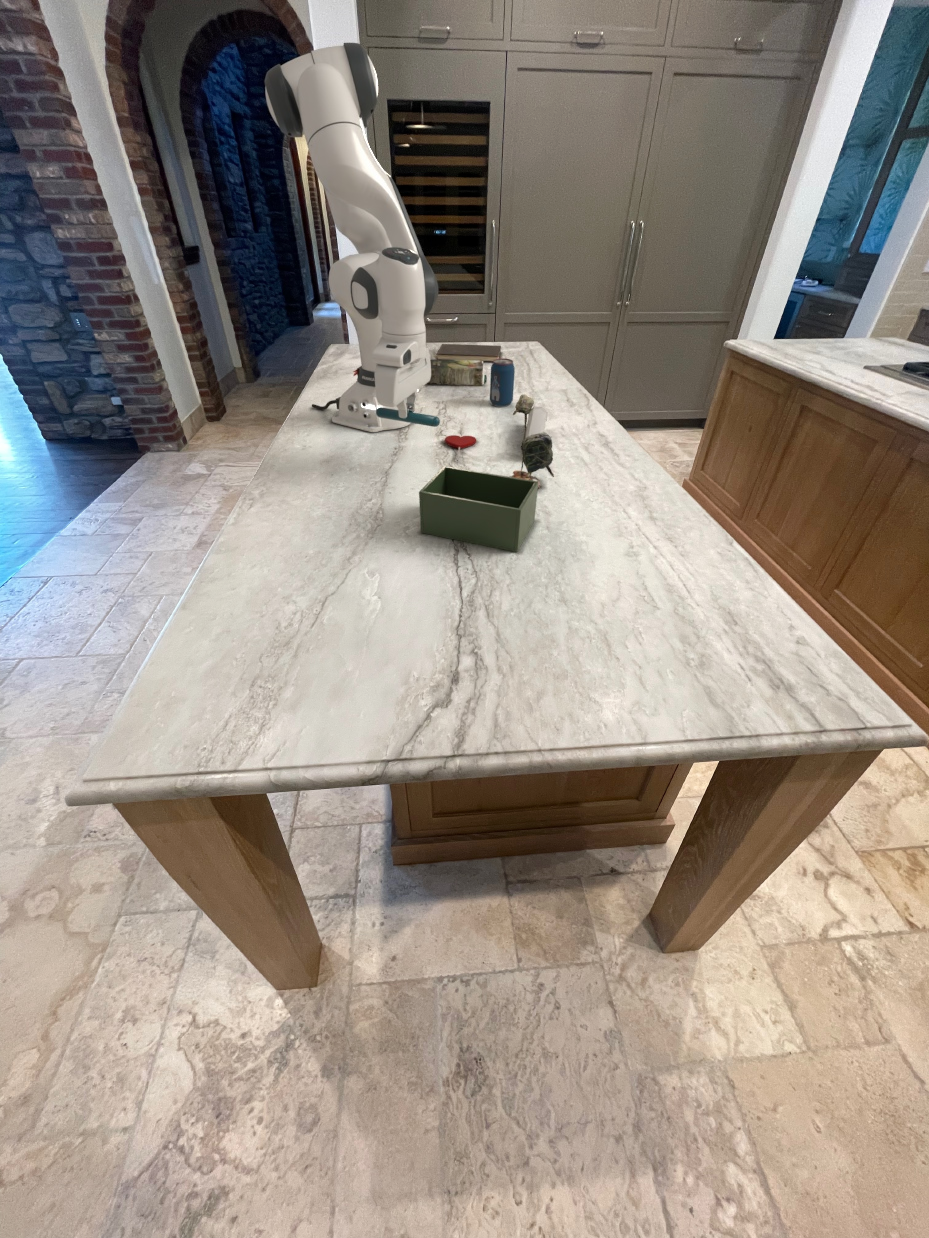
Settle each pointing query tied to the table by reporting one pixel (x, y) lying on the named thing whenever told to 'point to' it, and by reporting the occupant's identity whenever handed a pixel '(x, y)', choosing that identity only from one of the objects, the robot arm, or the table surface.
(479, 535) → the bin
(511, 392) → the soda can
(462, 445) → the lollipop
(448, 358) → the hardcover book
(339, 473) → the table surface
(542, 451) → the plant with pod
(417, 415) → the teal rod
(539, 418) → the white square bar
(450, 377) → the juice carton
